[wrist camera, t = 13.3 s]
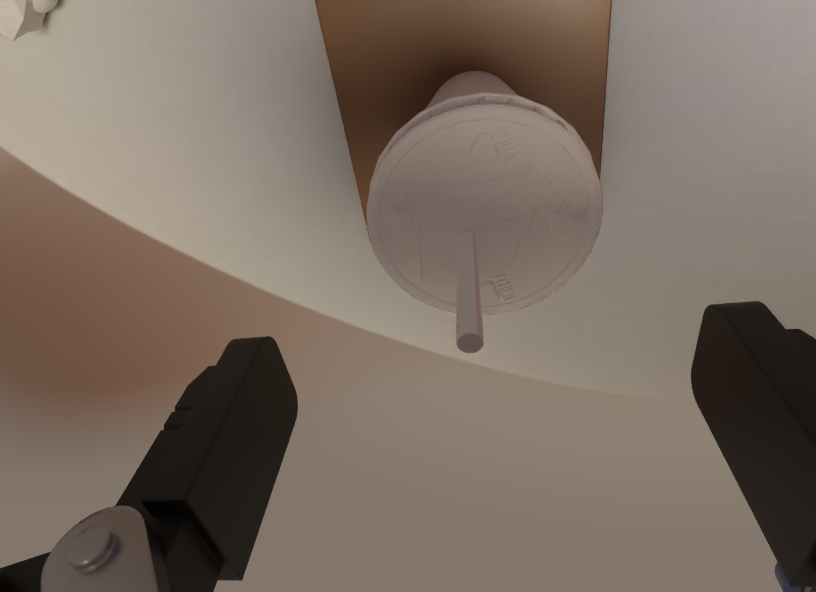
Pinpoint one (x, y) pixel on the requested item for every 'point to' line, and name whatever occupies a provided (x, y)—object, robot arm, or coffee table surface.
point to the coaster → (462, 62)
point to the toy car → (22, 16)
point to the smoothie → (483, 203)
